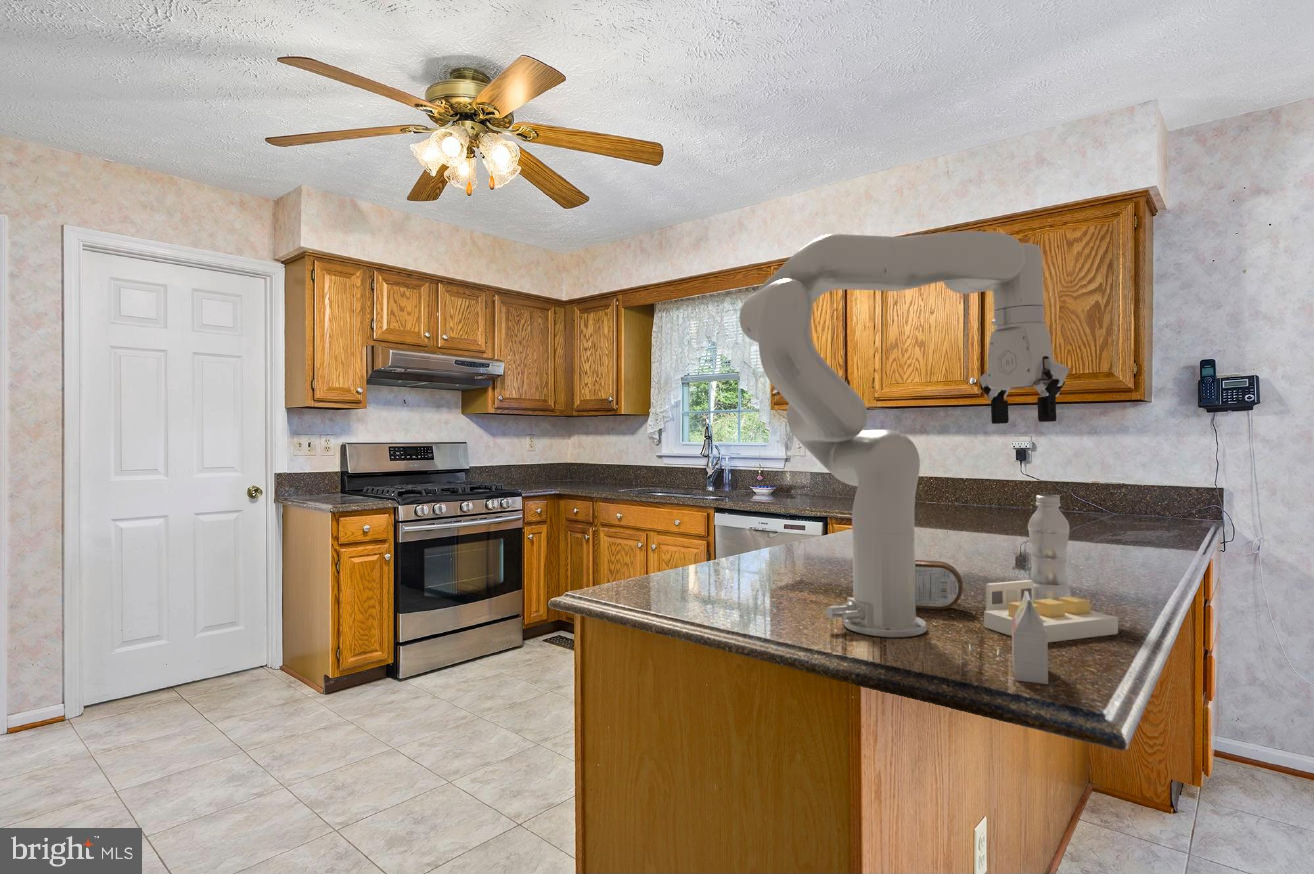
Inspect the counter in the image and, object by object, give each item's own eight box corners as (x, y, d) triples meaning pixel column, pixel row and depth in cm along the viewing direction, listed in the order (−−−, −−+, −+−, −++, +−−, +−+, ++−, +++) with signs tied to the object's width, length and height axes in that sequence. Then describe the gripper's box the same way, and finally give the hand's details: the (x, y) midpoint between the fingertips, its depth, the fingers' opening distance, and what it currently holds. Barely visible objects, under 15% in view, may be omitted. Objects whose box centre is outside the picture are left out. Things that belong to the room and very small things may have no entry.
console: (1034, 643, 104) (1034, 626, 104) (984, 626, 113) (984, 611, 113) (1118, 633, 108) (1117, 617, 108) (1062, 618, 118) (1062, 603, 118)
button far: (1075, 622, 110) (1075, 601, 110) (1059, 617, 113) (1058, 597, 113) (1090, 620, 111) (1089, 600, 111) (1073, 616, 114) (1073, 596, 114)
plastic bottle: (1059, 606, 126) (1058, 493, 126) (1078, 615, 120) (1076, 496, 120) (1022, 605, 127) (1020, 494, 127) (1038, 614, 120) (1036, 497, 120)
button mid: (1049, 625, 109) (1049, 604, 109) (1034, 620, 112) (1033, 600, 112) (1065, 623, 110) (1065, 602, 110) (1049, 618, 113) (1048, 598, 113)
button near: (1023, 628, 107) (1023, 606, 107) (1008, 623, 110) (1008, 602, 110) (1039, 626, 108) (1039, 605, 108) (1024, 621, 111) (1023, 601, 111)
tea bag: (1043, 667, 93) (1042, 591, 93) (1048, 684, 87) (1046, 602, 87) (1012, 664, 95) (1011, 589, 95) (1014, 680, 88) (1013, 599, 88)
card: (990, 621, 116) (990, 584, 116) (986, 619, 117) (985, 583, 117) (1034, 616, 119) (1033, 580, 119) (1029, 615, 120) (1029, 579, 120)
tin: (962, 608, 126) (962, 560, 126) (964, 612, 123) (963, 563, 123) (874, 602, 131) (873, 557, 131) (873, 606, 128) (873, 560, 128)
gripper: (963, 328, 126) (966, 424, 126) (1045, 310, 109) (1049, 421, 109) (996, 329, 128) (1000, 423, 128) (1081, 311, 112) (1085, 420, 112)
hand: (1022, 422), depth 119 cm, fingers open, 9 cm apart
